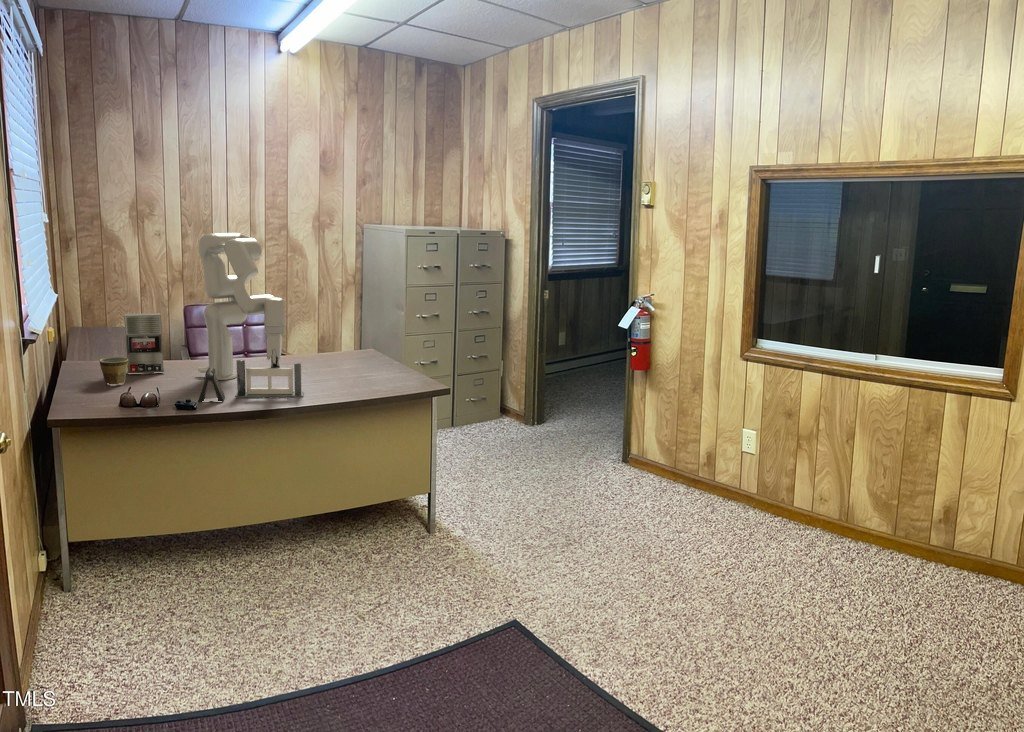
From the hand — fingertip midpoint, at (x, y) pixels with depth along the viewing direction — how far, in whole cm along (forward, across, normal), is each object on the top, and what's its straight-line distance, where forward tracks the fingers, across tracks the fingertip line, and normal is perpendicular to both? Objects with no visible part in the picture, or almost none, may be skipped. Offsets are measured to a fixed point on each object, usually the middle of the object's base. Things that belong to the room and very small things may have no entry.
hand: (275, 375), depth 300 cm
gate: (+6, +3, -2) cm, 7 cm away
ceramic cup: (+8, -18, -63) cm, 66 cm away
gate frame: (+7, +3, -2) cm, 8 cm away
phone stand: (+8, +9, -22) cm, 25 cm away
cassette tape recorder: (+8, -36, -54) cm, 66 cm away
